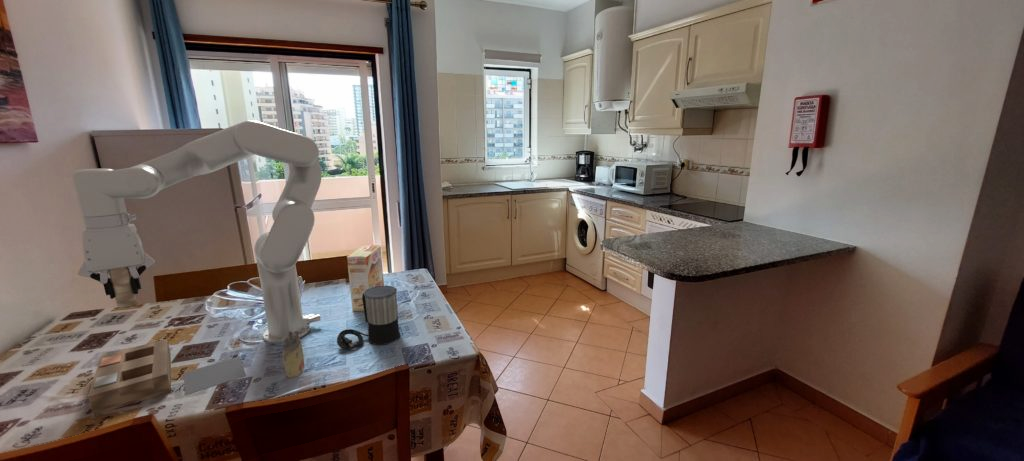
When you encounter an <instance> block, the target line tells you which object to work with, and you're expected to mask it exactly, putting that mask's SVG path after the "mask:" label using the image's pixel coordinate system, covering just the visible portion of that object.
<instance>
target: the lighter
mask: <svg viewBox="0 0 1024 461" xmlns="http://www.w3.org/2000/svg"><path fill="white" fill-rule="evenodd" d="M289 336H290V338H289ZM283 343H284V344H283V345H282V350H281V351H282V358H283V363H284V371H285V377H286V378H295V377H297V376H300V375H301V374H302V371H303V369H304V367H305V360H304V359H305V358H304V351H303V350H304V349H303V344H302V340H301V337H299V336H298V331H295V333H294V334H292V331H290V332H289V335H288V337H287V338H286V339H285V340H284V342H283Z"/></svg>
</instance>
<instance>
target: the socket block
mask: <svg viewBox="0 0 1024 461" xmlns="http://www.w3.org/2000/svg"><path fill="white" fill-rule="evenodd" d="M171 356H172V354H171V350H170V345H169V340H168V339H167V338H166V339H165V338H164V339H163V340H162V339H161V340H158V341H154V342H150V343H145V344H142V345H138V346H134V347H130V348H129V347H128V348H125V349H121V350H120V349H119V350H118V351H112V352H108V353H105V354H101V355H100V357H99V360H98V363H97V367H96V370H95V372H94V373H95V374H94V376H93V379H92V383H91V385H90V386H91V387H90V389H89V392H88V396H87V398H88V401H89V406H90V408H91V412H92V414H93V417H94V418H95V417H98V415H99V416H101V414H102V415H103V414H104V413H106V412H109V411H113V410H117V409H119V408H122V407H127V406H129V405H131V404H133V405H134V404H135V403H139V402H142V401H145V400H148V399H151V398H154V397H158V396H162V395H164V394H168V393H170V392H172V359H171V358H172V357H171Z"/></svg>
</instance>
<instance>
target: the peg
mask: <svg viewBox="0 0 1024 461" xmlns="http://www.w3.org/2000/svg"><path fill="white" fill-rule="evenodd" d="M108 272H109V278H110V279H111V283H112V287H113V291H114V294H115V298H114V299H115V303H116V306H117V309H118V308H119V309H124V308H129V307H133V306H136V305H137V304H138V300H137V296H136V294H134V292H133V288H132V284H131V275H132V274H131V272H130V270H129V268H128V267H125V268H115V269H112V270H108Z"/></svg>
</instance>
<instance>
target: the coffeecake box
mask: <svg viewBox="0 0 1024 461" xmlns="http://www.w3.org/2000/svg"><path fill="white" fill-rule="evenodd" d="M346 260H347V270H348V279H349V280H348V281H349V289H350V300H351V308H352V312H353V311H354V312H364V308H363V301H362V295H363V293H364V292H365V291H366V290H367V289H370V288H372V287H376V286H385V282H384V270H383V269H384V268H383V257H382V245H379V244H378V245H376V244H375V245H374V244H367V245H362V246H360V247H359V248H357V249H356V250H355V251H353V252H352V253H350V254H349V255H347V256H346Z"/></svg>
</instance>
